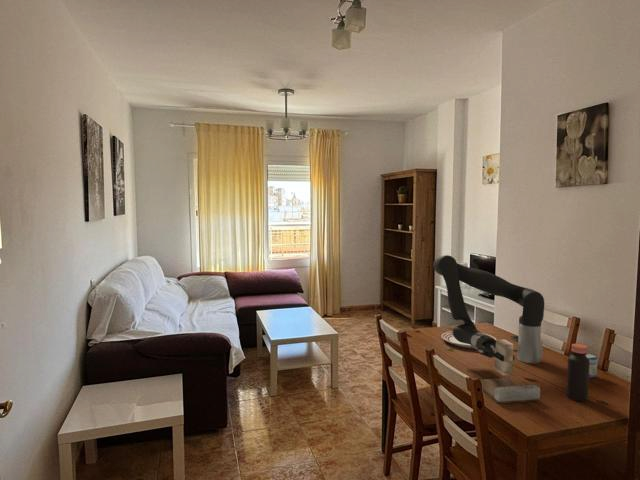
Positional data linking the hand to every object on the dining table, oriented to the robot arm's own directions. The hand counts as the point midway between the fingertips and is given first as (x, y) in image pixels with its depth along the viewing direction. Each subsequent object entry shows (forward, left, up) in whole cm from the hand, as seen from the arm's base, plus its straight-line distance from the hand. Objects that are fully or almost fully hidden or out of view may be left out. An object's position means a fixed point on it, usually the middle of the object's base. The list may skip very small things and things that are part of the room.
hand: (508, 358), depth 154 cm
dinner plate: (-16, -60, -15) cm, 64 cm away
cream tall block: (0, -3, -6) cm, 7 cm away
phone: (-46, -57, -15) cm, 75 cm away
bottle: (-24, +6, -14) cm, 29 cm away
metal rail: (0, +6, -13) cm, 14 cm away
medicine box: (-43, -12, -14) cm, 47 cm away
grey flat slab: (0, -3, -14) cm, 14 cm away
